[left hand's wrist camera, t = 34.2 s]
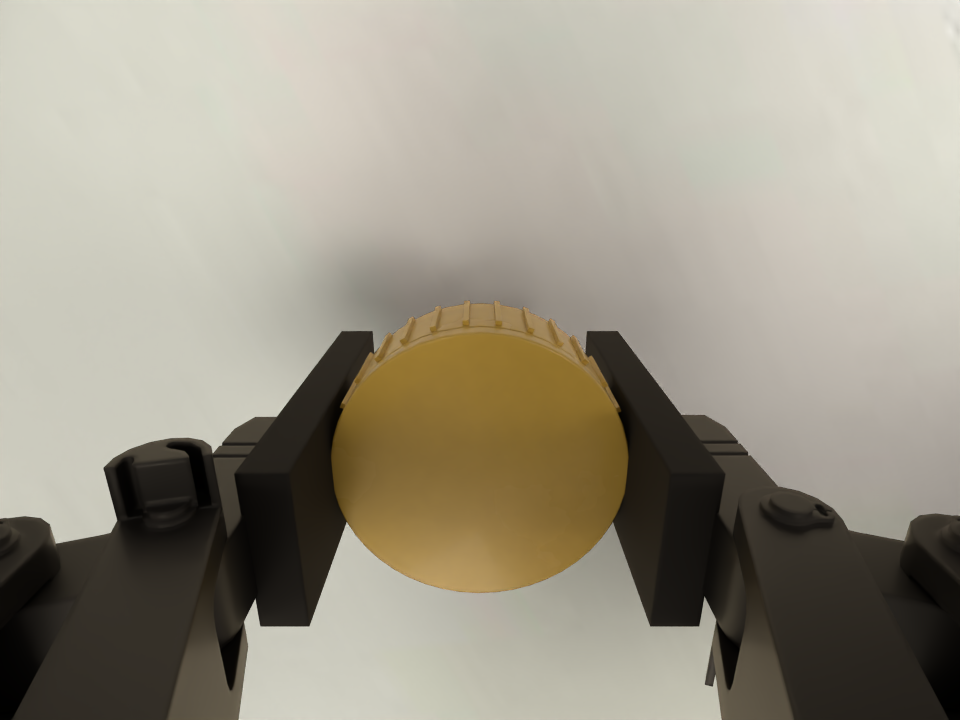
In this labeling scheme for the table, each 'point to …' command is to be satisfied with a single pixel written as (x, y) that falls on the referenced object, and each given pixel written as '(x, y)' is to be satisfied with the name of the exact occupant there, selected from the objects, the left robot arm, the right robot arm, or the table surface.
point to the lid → (479, 450)
